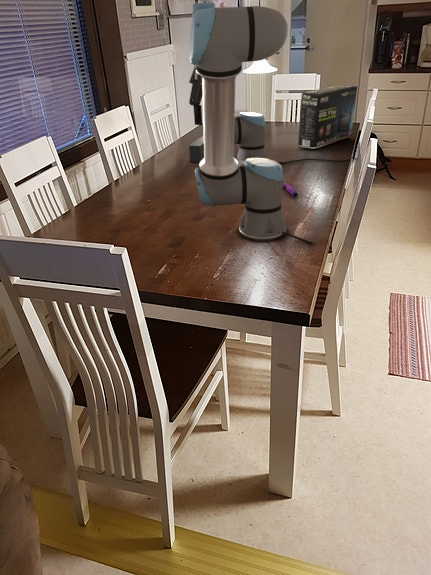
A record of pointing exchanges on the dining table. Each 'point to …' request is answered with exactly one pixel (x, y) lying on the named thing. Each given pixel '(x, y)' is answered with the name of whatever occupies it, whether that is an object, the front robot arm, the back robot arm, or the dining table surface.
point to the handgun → (289, 188)
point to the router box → (326, 115)
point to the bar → (197, 150)
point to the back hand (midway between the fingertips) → (209, 98)
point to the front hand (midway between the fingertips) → (208, 121)
